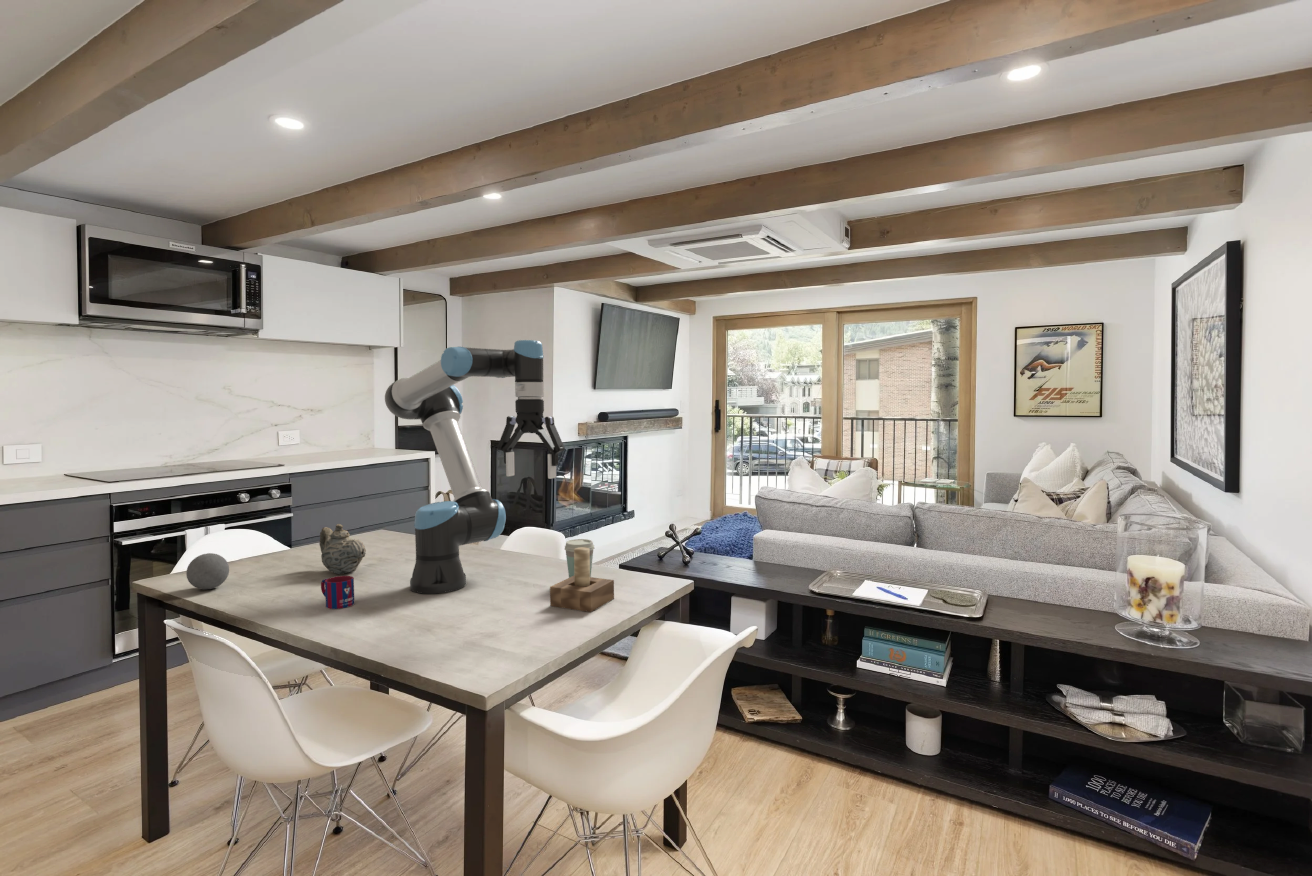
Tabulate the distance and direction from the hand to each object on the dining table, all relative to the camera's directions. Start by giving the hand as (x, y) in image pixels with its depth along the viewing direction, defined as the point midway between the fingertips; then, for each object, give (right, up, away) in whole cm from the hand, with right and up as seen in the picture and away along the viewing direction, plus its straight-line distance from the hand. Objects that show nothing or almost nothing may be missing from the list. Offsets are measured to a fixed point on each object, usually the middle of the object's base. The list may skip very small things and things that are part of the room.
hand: (531, 477), depth 179 cm
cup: (-49, -33, -7) cm, 60 cm away
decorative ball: (-92, -32, +7) cm, 98 cm away
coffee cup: (+12, -31, +11) cm, 35 cm away
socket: (+15, -32, -7) cm, 36 cm away
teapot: (-63, -31, +25) cm, 74 cm away
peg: (+15, -32, -7) cm, 36 cm away
